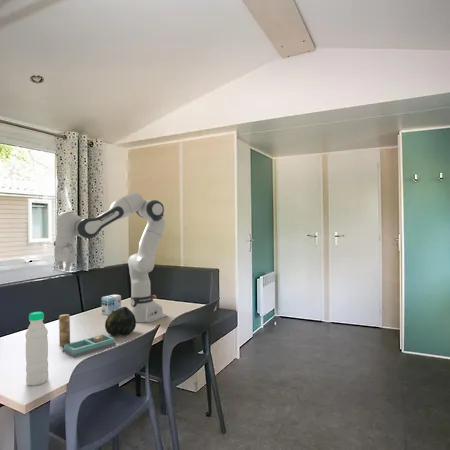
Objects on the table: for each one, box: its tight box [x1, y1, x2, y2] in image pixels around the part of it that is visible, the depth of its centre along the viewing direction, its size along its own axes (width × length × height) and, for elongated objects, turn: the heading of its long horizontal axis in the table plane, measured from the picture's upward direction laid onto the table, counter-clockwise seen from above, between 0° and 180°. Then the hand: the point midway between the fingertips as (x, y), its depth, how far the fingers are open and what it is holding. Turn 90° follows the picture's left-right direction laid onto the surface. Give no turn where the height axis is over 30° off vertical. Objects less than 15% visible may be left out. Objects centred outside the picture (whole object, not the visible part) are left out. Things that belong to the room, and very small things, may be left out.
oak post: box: [58, 313, 71, 348], centre depth 158 cm, size 4×4×14 cm
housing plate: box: [62, 333, 117, 358], centre depth 154 cm, size 20×11×4 cm, turn 137°
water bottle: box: [25, 311, 49, 387], centre depth 121 cm, size 7×7×25 cm
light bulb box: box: [101, 293, 122, 316], centre depth 215 cm, size 11×7×11 cm, turn 148°
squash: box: [104, 306, 137, 336], centre depth 173 cm, size 14×15×15 cm
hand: (63, 270), depth 171 cm, fingers open, 8 cm apart
